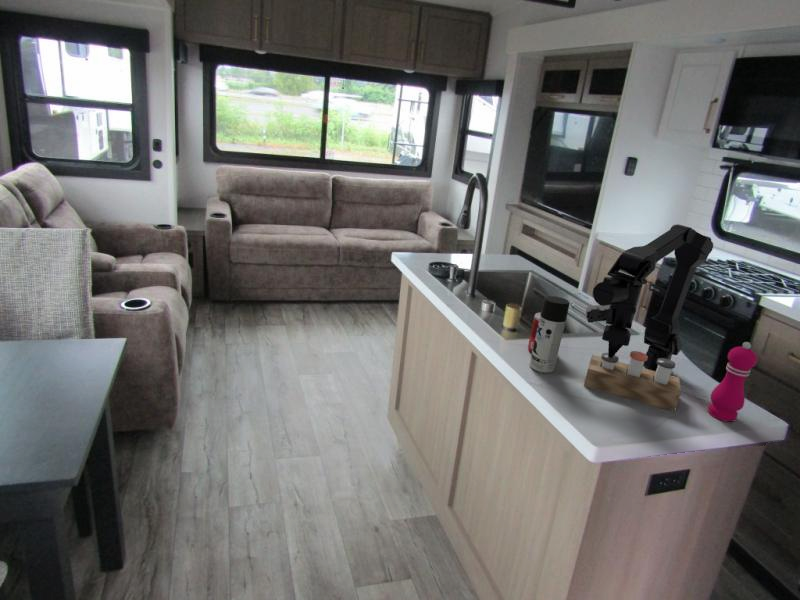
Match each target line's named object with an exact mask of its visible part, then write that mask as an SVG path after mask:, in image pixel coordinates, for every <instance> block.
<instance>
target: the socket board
mask: <svg viewBox="0 0 800 600" xmlns="http://www.w3.org/2000/svg"><path fill="white" fill-rule="evenodd" d="M602 362H603V359H602V358H601V356H598V355H595V354H592V355H591V357H590V361H589V364H588V367H587V371H586V375H585V379H584V382H583V386H584V387H587V388H591V389H595V390H598V391H601V392H605V393H608V394H612V395H615V396H619V397H622V398H626V399H630V400H633V401H637V402H640V403H643V404H647V405H650V406H654V407H658V408H661V409H664V410H667V411H670V412H676V410H677V407H678V406H677V405H678V403H679V400H680V396H681V390H680V385H681V382H680V377H678V376H674V375H671V374H670V377H669V380H668V384H667V385H665V384H661V383H658V382H654V381H653V380H654V377H655V373H656V371H652V370H650V369H649V368H644V367H643V368H642V371H641V375H640V378H639V377H636V376H632V375H628V374H627V371H628V368H629V364H630V363H625V362H621V361H618V362H617V363H615V365H614V369H613V370H610V369H606V368H603V367H601V365H602Z"/></svg>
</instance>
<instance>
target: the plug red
mask: <svg viewBox="0 0 800 600" xmlns="http://www.w3.org/2000/svg"><path fill="white" fill-rule="evenodd" d="M629 357H630V361H629V363H628V364H629V368H628V371H627V374H628V375H632V376H636V377H639V378H640V375H641V371H642V368H644V361H647V358H648V356H647V355H646V353H644V352H641V351H638V350H637V351H636V350H632V351H630V353H629Z"/></svg>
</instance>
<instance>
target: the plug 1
mask: <svg viewBox="0 0 800 600" xmlns="http://www.w3.org/2000/svg"><path fill="white" fill-rule="evenodd" d="M600 357H601V358H602V359H603V362H602V365H601V367H603V368H606V369H610V370H613V369H614V365H615V363H617V362H619V356H617V355H616V354H615V355H614V356H613V357H609V356H608V352H603V353H602V354H601V356H600Z"/></svg>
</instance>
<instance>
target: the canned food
mask: <svg viewBox="0 0 800 600" xmlns="http://www.w3.org/2000/svg"><path fill="white" fill-rule="evenodd" d="M540 315H541V312H536V313H535V314H534V317H533V322H532V325H531V331H530V334H529V335H530V336H529V341H528V345H527V350H528V351H529V353H530V354H532V351H533V346H534V342H535V337H536V333H537V329H538V324H539V320H540Z"/></svg>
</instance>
